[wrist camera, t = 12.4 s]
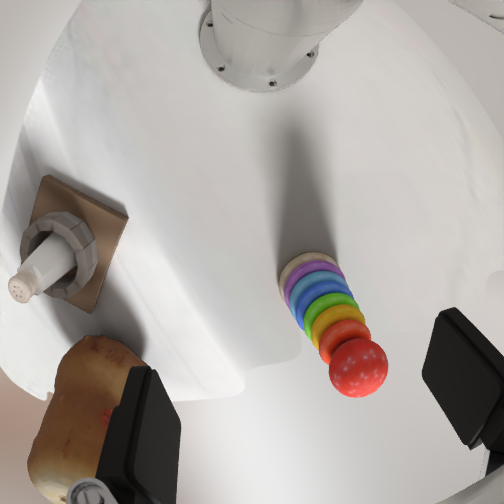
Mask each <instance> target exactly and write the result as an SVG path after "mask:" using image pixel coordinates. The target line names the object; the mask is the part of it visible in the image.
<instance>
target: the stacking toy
mask: <svg viewBox="0 0 504 504" xmlns="http://www.w3.org/2000/svg"><path fill="white" fill-rule="evenodd" d="M279 291H280V295H281V297H282V299H283V301H284V302H285V303H286V304H287V306H288V308H289V309H290V310H291V313H292V315H293V317H294V318H295V319H296V320H297V323H298V325H299V326H300V327H301V329H302V330H304V331H305V333H306V334H307V336H308V338H310V340H311V341H312V342H313V344H314V346H315V347H316V348H317V349H318V350H319V354H320V356H321V358H322V360H323V361H324V362H325V363H327V364H328V365H329V376H330V380H331V382H332V384H333V386H334V387H335V388H336V389H337V390H338V391H339V392H340V393H342V394H343V395H346V396H349V397H355V398H357V397H364V396H367V395H370V394H372V393H373V392H374V391H376V390H377V389H378V388H379V387H380V386H381V385H382V384H383V382H384V380H385V379H386V376H387V372H388V360H387V357H386V354H385V352H384V351H383V349H382V348H381V347H380V346H379V345H378V344H376V343H375V342H373V341H371V334H370V331H369V329H368V328H367V326H366V325H365V319H364V316H363V314H362V313H361V311H360V309H359V306H358V304H357V303H356V301H355V300H354V297H353V295H352V293H351V291H350V290H349V287H348V285H347V283H346V280H345V277H344V275H343V273H342V271H341V270H340V268H339V266H338V264H337V263H336V262H335V261H334V260H333V259H332V258H331V257H329V256H327V255H325V254H322V253H315V252H311V253H305V254H302V255H299V256H298V257H296V258H294V259H293V260H292V261H290V262H289V263H288V264H287V265H286V267H285V268H284V270H283V271H282V274H281V276H280V280H279Z"/></svg>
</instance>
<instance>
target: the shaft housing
mask: <svg viewBox="0 0 504 504" xmlns="http://www.w3.org/2000/svg"><path fill="white" fill-rule="evenodd" d="M127 221H128V217H126V216H124V215H123V214H121V213H119V212H117V211H115V210H113V209H111V208H109V207H107V206H106V205H104V204H102V203H100V202H98V201H96V200H94V199H92V198H91V197H89V196H87V195H85V194H83V193H81V192H79V191H78V190H76V189H74V188H72V187H70V186H68V185H66V184H65V183H63V182H61V181H59V180H57V179H55V178H54V177H52V176H50V175H47V176H44V177H43V178H42V181H41V184H40V187H39V190H38V194H37V197H36V201H35V204H34V208H33V212H32V216H31V219H30V224H29V228H28V229H27V230H26V231H25V232H24V233H23V236H22V241H21V246H20V255H21V260H22V261H21V265H22V264H23V263H24V261H25V260H26V259H27V258H28V257H29V256H30V255H31V254H32V253H33V252H34V251H35V250H36V249H37V248H38V247H39V246H40V245H41V244H42V243H43V242H44V241H45V240H46V239H47V238H48V237H49V236H50V235H51V234H52V233H53V232H56V233H57V234H59V235H61V236H63V237H64V238H66V240H67V241H68V243H69V244H70V246H71V247H72V249H73V250H74V251H75V255H76V260H77V265H76V266H75V267H74V268H73V269H72V270H71V271H69V272H68V273H66V274H65V275H64V276H63V277H61V278H60V279H59V280H57V281H56V282H55V283H53V284H52V285H51V286H50V287H48V288H47V289H46V290H44V291H43V292H44V293H46V294H48V295H49V296H51V297H55V298H62V299H64V300H66V301H68V302H69V303H71V304H73V305H75V306H76V307H78V308H80V309H82V310H84V311H86V312H87V313H89V314H91V313H92V311H93V309H94V307H95V304H96V301H97V299H98V296H99V293H100V290H101V287H102V284H103V281H104V279H105V276H106V273H107V270H108V268H109V265H110V263H111V260H112V257H113V255H114V252H115V250H116V247H117V245H118V242H119V240H120V237H121V235H122V233H123V230H124V228H125V225H126V223H127Z"/></svg>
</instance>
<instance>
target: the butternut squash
mask: <svg viewBox="0 0 504 504" xmlns="http://www.w3.org/2000/svg"><path fill="white" fill-rule="evenodd" d="M146 365H147V364H146V363H145V362H144V361H142V360H141V359H140V358H139V357H138V356H137V355H136V354H134V353H133V352H132V351H131V350H130V349H129V348H128V347H126V346H125V345H124V344H122V343H121V342H120V341H118V340H114V339H111V338H108V337H107V336H105V335H100V336H92V335H86V336H84V338H83V339H82V340H81V341H79V342H78V343H76V344H75V345H74V346H73V347H72V348H70V350H69V351H68V352H67V353H66V354H65V355H64V356H63V358H62V360H61V362H60V364H59V366H58V369H57V375H56V378H55V385H54V387H55V392H54V395H53V397H52V400H51V402H50V404H49V406H48V409H47V411H46V413H45V416H44V418H43V421H42V424H41V427H40V430H39V432H38V435H37V436H36V438H35V439H34V441H33V445H32V449H31V452H30V455H29V457H28V461H27V466H28V472H29V476H30V479H31V481H32V483H33V484H34V486H35V487H36V488H37V490H39V491H40V492H41V494H42V495H43V496H44V497H45V498H47V499H48V500H49V501H51V502H53V503H54V504H67V502H66V495H67V492H68V489H69V488H70V486H71V485H72V484H73V483H74V482H76V481H77V480H79V479H82V478H89V477H91V478H95V475H96V471H97V467H98V462H99V458H100V454H101V451H102V447H103V443H104V439H105V435H106V432H107V428H108V424H109V421H110V417H111V414H112V411H113V409H114V407H115V406H118V405H119V404H120V400H121V397H122V393H123V390H124V386H125V383H126V380H127V377H128V373H129V370H130V368H131V367H132V366H146Z"/></svg>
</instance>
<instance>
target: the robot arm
mask: <svg viewBox="0 0 504 504" xmlns="http://www.w3.org/2000/svg"><path fill="white" fill-rule="evenodd" d="M447 1H449V2H451V3H453V4H454V5H456V6H458V7H460V8H461V9H463V10H465V11H467V12H468V13H470V14H472V15H474V16H475V17H477V18H478V19H480V20H481V21H483V22H485V23H487V24H488V25H490V26H491V27H493V28H495V29H496V30H498V31H499V32H501V33H502V34H504V0H447ZM362 2H363V0H211V5H212V9H211V10H210V11H209V13H208V14H207V16H206V18H205V19H204V22H203V24H202V27H201V32H200V45H201V51H202V54H203V57H204V59H205V61H206V63H207V65H208V66H209V67H210V69H211V70H212V71H213V72H214V73H215V74H216V75H217V76H218V77H219V78H220V79H222V80H223V81H225V82H226V83H228V84H230V85H232V86H234V87H237V88H239V89H242V90H247V91H252V92H270V91H276V90H280V89H283V88H286V87H288V86H290V85H292V84H294V83H296V82H297V81H298V80H300V79H301V78H302V77H303V76H304V75H305V74H307V73H308V72H309V70H310V69H311V67H312V66H313V64H314V63H315V60H316V58H317V55H318V50H319V43H320V42H321V41H322V40H323V39H324V38H325V37H326V36H328V35H329V34H330V33H331V32H332V31H333V30H335V29H336V28H337V27H338V26H339V25H341V24H342V23H343V22H344V21H345V20H346V19H347V18H349V17H350V16H351V15H352V14H353V13H354V12H355V11H356V10H357V9H358V8H359V7H360V5H361V4H362ZM210 24H211V25H213V26H212V27H208V26H209V25H210ZM307 54H310V57H308V56H307ZM219 68H223V69H224V70H223V71H219ZM270 82H272V83H273V84H274V85H273V86H270V85H269V83H270ZM422 378H423V380H424V382H425V383H426V385H427V386H428V388H429V389H430V391H431V392H432V394H433V395H434V397H435V399H436V400H437V402H438V403H439V405H440V407H441V408H442V410H443V411H444V413H445V415H446V416H447V418H448V420H449V421H450V423H451V424H452V426H453V427H454V429H455V431H456V433H457V435H458V436H459V438H460V440H461V441H462V443H463V444H464V445H468V447H469V449H470V450H472V449H474V448H476V447H477V446H479V445H481V444H482V443H483V444H484V445H485V447H486V448H485V453H484V459H483V464H482V468H481V472H480V477H479V481H477V482H476V483H474V484H472V485H471V486H469V487H467V488H466V489H464V490H462V491H460V492H458V493H456V494H454V495H453V496H451V497H449V498H447V499H445V500H443V501H441V502H439V503H437V504H504V356H503V355H502V354H501V353H500V352H499V351H498V350H497V349H496V348H495V347H494V346H493V345H492V343H490V341H489V340H488V339H487V338H486V337H485V336H484V335H483V334H482V333H481V332H480V331H479V330H478V329H477V328H476V327H475V326H474V325H473V324H472V323H471V322H470V321H469V320H468V319H467V318H466V317H465V316H464V315H463V314H462V313H461V312H460V311H459V310H458V309H457V308H455V307H453V308H449V309H446V310H443V311H441V312H440V313H439V315H438V317H437V318H436V319H435V323H434V328H433V332H432V336H431V340H430V344H429V348H428V351H427V355H426V359H425V362H424V365H423V369H422ZM180 435H181V422H180V419H179V417H178V415H177V413H176V411H175V409H174V407H173V405H172V403H171V400H170V398H169V396H168V394H167V392H166V390H165V388H164V386H163V384H162V381H161V379H160V377H159V375H158V373H157V371H156V370H155V369H154V370H152V369H151V367H150V366H148V365H146V366H132V367H131V368H130V370H129V373H128V377H127V380H126V383H125V386H124V390H123V393H122V397H121V400H120V404H119V405H118V406H115V407H114V409H113V411H112V414H111V417H110V421H109V424H108V428H107V432H106V435H105V439H104V443H103V447H102V451H101V454H100V458H99V462H98V467H97V471H96V475H95V478H91V477H89V478H82V479H79V480H77V481H76V482H74V483H73V484H72V485H71V486H70V488H69V489H68V492H67V495H66V502H67V504H176V493H177V476H178V462H179V461H178V460H179V448H180Z"/></svg>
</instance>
